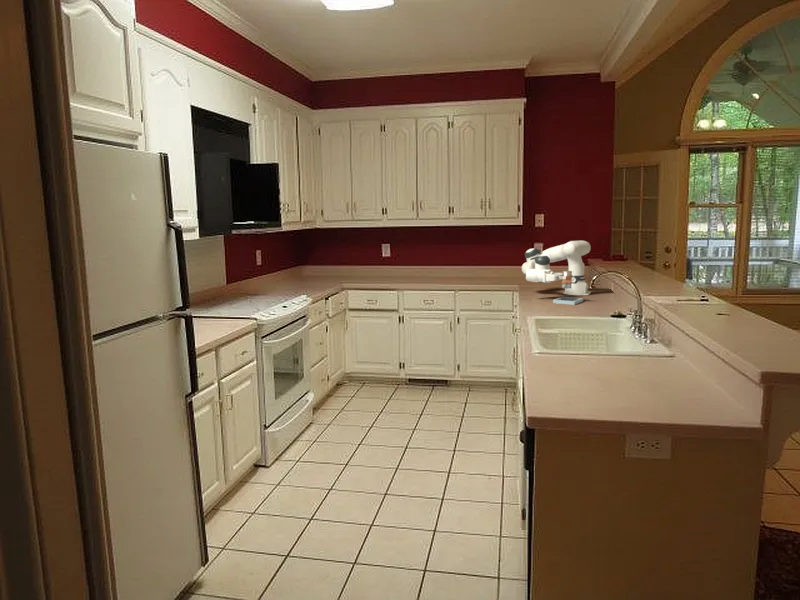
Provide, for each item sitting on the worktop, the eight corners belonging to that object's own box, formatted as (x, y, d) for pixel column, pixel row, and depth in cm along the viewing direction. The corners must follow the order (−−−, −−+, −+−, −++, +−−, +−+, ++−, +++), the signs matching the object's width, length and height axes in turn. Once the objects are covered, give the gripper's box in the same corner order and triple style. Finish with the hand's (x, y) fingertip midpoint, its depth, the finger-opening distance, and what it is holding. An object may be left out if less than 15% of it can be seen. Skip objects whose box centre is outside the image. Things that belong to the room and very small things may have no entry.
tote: (562, 301, 386) (562, 296, 386) (583, 302, 378) (583, 298, 377) (553, 304, 373) (553, 299, 373) (574, 306, 365) (574, 301, 365)
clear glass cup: (563, 287, 382) (564, 270, 380) (572, 287, 378) (573, 271, 377) (560, 288, 377) (560, 271, 375) (569, 288, 373) (570, 271, 372)
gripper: (554, 279, 393) (574, 280, 385) (541, 282, 377) (562, 283, 368) (554, 270, 392) (574, 271, 384) (542, 272, 376) (562, 273, 368)
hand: (568, 277), depth 376 cm, fingers closed on clear glass cup, 6 cm apart
